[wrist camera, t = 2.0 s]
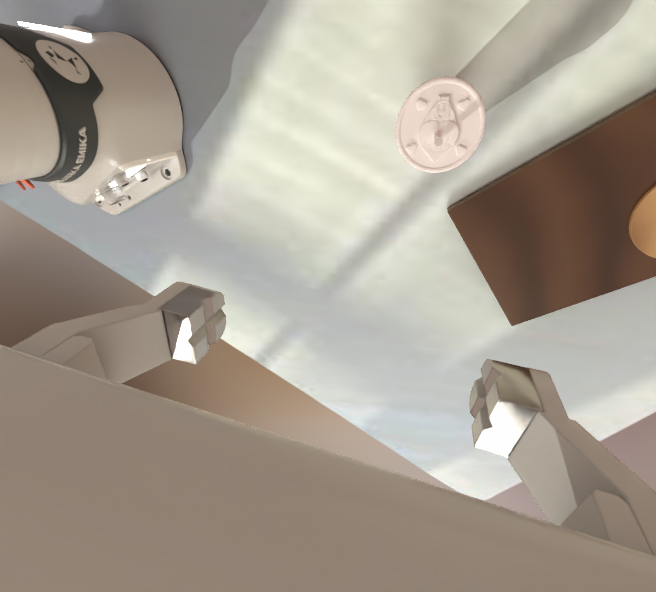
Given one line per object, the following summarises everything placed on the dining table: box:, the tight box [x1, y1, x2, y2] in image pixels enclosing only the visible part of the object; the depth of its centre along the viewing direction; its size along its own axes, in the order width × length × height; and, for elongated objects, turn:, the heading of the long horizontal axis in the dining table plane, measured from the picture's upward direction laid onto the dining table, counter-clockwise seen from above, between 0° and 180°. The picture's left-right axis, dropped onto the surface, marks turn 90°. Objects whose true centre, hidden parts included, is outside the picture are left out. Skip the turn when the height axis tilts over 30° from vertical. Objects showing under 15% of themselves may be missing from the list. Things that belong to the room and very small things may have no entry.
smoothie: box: [396, 76, 486, 173], centre depth 26 cm, size 6×6×14 cm
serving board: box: [447, 91, 656, 326], centre depth 32 cm, size 22×16×2 cm
